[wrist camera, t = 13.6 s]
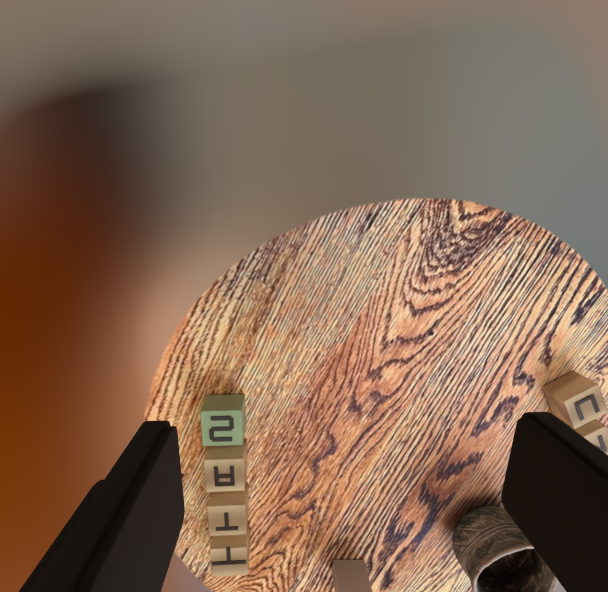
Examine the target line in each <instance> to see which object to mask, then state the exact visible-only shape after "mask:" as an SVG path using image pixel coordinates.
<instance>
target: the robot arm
mask: <svg viewBox="0 0 608 592" xmlns="http://www.w3.org/2000/svg"><path fill="white" fill-rule="evenodd" d="M501 498H502V503H503V506H504V508H505V510H506V511H507V513H508V514H509V516H510V517H511V518H512V519H513V521H514V522H515V523H516V525H517V526H518V527H519V529H520V530H521V531H522V533H523V534H524V535H525V537H526V538H527V539H528V541H529V542H530V543H531V545H532V546H533V547H534V549H535V550H536V551H537V553H538V554H539V555H540V557H541V558H542V559H543V561H544V562H545V563H546V565H547V566H548V567H549V569H550V570H551V571H552V573H553V574H554V575H555V577H556V578H557V579H558V581H559V582H560V583H561V585H562V586H563V587H564V589H565V590H566V591H567V592H608V455H607V454H606V453H604V452H603V451H602V450H600V449H599V448H598V447H596V446H595V445H593V444H592V443H591V442H589V441H588V440H587V439H585V438H584V437H583V436H581V435H580V434H579V433H577V432H576V431H575V430H573V429H572V428H571V427H569V426H568V425H567V424H565V423H564V422H562V421H561V420H560V419H558V418H557V417H556V416H554V415H553V414H551V413H549V412H527V413H524V414H523V415H522V417H521V418H520V419H519V420H518V421H517V425H516V429H515V434H514V439H513V443H512V448H511V453H510V457H509V462H508V467H507V471H506V476H505V481H504V485H503V490H502V495H501ZM183 519H184V497H183V487H182V476H181V466H180V455H179V445H178V434H177V428H176V427H175V426H172V427H170V423H169V421H145V422H144V423H143V424H142V425H141V427H140V428H139V429H138V431H137V432H136V434H135V435H134V437H133V438H132V440H131V441H130V443H129V444H128V446H127V447H126V449H125V450H124V452H123V453H122V454H121V456H120V457H119V459H118V460H117V462H116V463H115V465H114V466H113V468H112V469H111V471H110V472H109V474H108V475H107V477H106V478H105V480H100V481H98V482H97V483H96V484H95V485H94V486H93V487H92V488H91V490H90V491H89V492H88V494H87V495H86V497H85V498H84V500H83V501H82V502H81V504H80V505H79V507H78V508H77V509H76V511H75V512H74V514H73V515H72V517H71V518H70V520H69V521H68V522H67V524H66V525H65V527H64V528H63V529H62V531H61V532H60V534H59V535H58V537H57V538H56V540H55V541H54V542H53V544H52V545H51V546H50V548H49V549H48V551H47V552H46V554H45V555H44V556H43V558H42V560H41V561H40V562H39V564H38V565H37V566H36V568H35V569H34V571H33V572H32V574H31V575H30V576H29V578H28V579H27V581H26V582H25V584H24V585H23V587H22V588H21V589H20V591H19V592H161V589H162V585H163V583H164V579H165V576H166V573H167V570H168V567H169V564H170V561H171V558H172V555H173V552H174V549H175V546H176V543H177V540H178V537H179V534H180V531H181V527H182V524H183Z"/></svg>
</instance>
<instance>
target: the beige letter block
mask: <svg viewBox="0 0 608 592" xmlns="http://www.w3.org/2000/svg"><path fill="white" fill-rule="evenodd" d="M249 554H250V530H249V522H247V530H246V534H240V535H221V536H213V538H212V543H211V547H210V555H211V569H212V577H217V576H233V575H247V574H248V565H249Z"/></svg>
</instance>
